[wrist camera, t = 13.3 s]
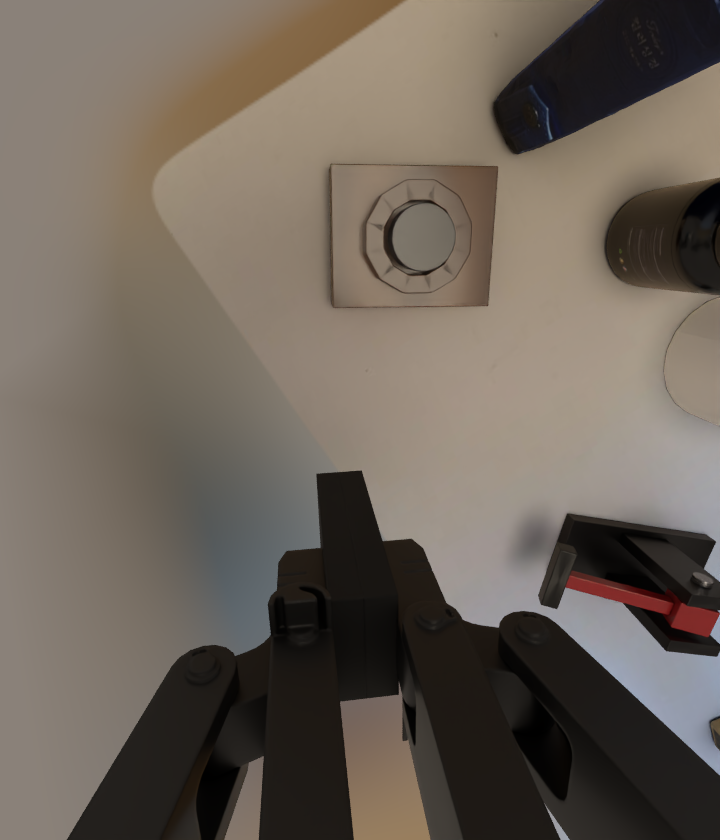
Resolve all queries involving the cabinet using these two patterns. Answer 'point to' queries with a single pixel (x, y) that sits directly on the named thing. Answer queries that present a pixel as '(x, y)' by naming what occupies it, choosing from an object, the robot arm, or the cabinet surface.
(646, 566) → the lever switch
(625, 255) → the supplement bottle
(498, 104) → the blue zippered case
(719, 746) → the ink box
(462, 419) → the cabinet surface
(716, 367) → the mug
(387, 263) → the switch block
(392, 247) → the button
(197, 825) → the robot arm
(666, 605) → the red lever
